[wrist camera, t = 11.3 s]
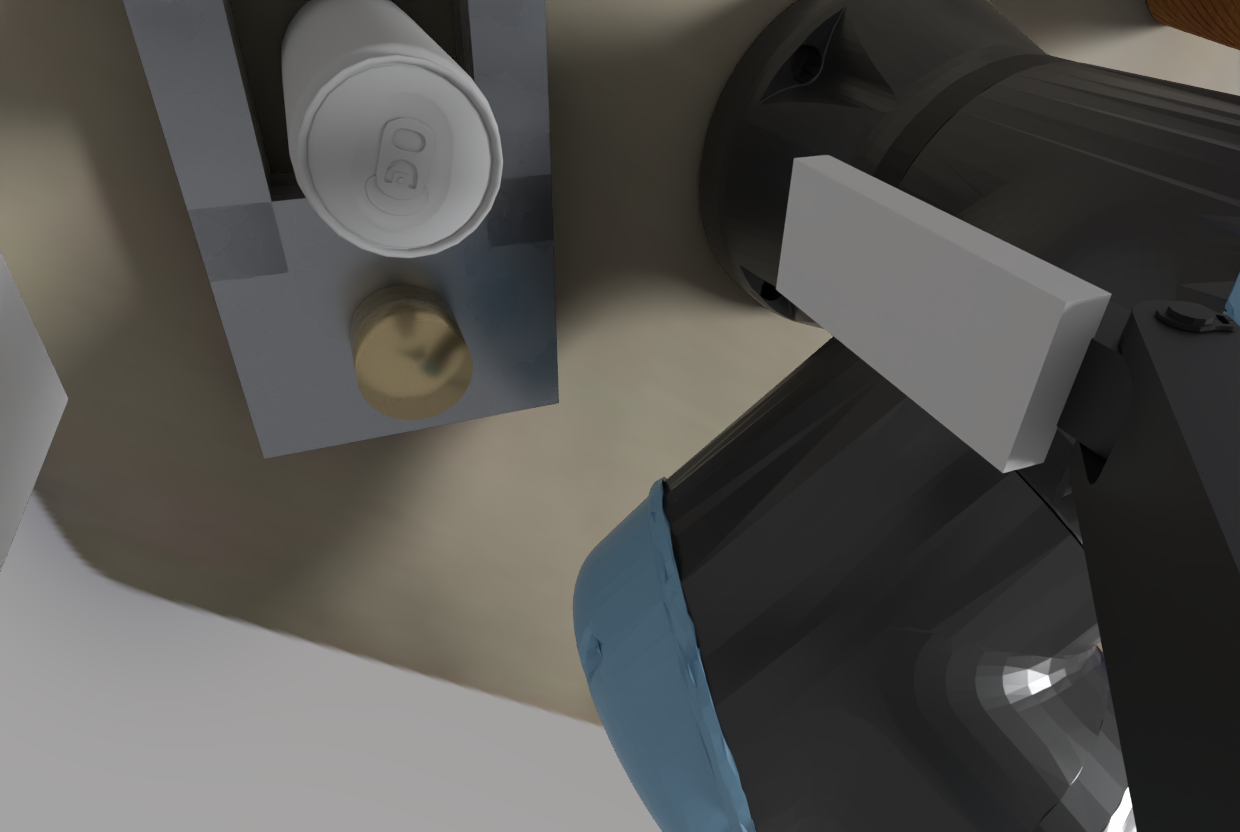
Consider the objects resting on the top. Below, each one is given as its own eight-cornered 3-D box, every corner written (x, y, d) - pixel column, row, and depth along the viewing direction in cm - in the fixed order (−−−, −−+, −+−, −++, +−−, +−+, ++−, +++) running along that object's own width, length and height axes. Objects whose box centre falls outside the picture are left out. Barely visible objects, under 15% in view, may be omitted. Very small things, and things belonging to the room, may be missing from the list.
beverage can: (271, 115, 27) (275, 242, 17) (290, -39, 25) (306, 14, 15) (412, 150, 29) (481, 280, 20) (440, 12, 27) (533, 85, 18)
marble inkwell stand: (497, -492, 21) (564, -596, 16) (540, 369, 36) (580, 441, 32) (-33, -580, 17) (-141, -745, 13) (264, 417, 33) (264, 507, 28)
